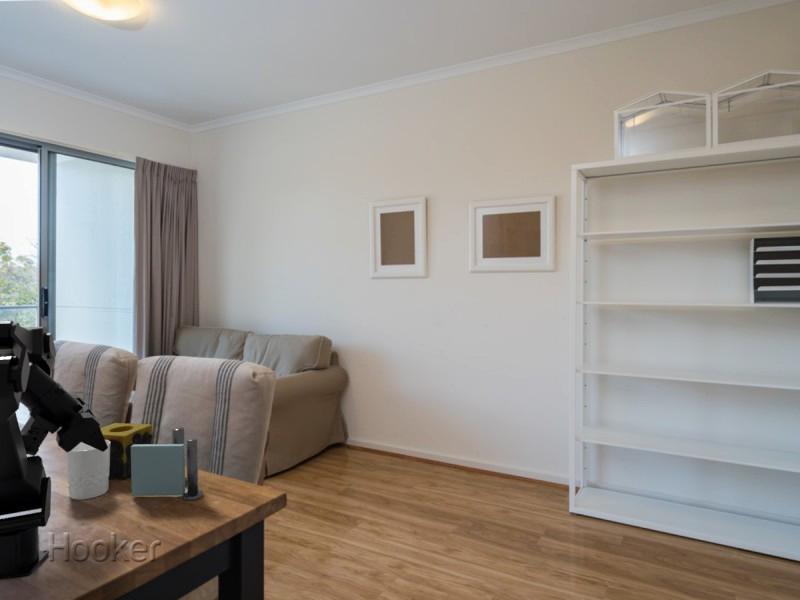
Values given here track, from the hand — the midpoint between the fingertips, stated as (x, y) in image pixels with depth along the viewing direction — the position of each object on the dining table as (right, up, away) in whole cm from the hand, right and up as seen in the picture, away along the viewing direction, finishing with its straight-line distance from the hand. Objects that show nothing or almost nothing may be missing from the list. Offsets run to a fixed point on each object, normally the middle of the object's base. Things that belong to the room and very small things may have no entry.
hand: (105, 449), depth 94 cm
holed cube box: (-9, -12, +21) cm, 26 cm away
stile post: (+7, -11, +15) cm, 20 cm away
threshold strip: (+8, -12, +11) cm, 18 cm away
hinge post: (+14, -12, +7) cm, 19 cm away
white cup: (-9, -12, +9) cm, 17 cm away
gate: (+7, -11, +7) cm, 15 cm away
